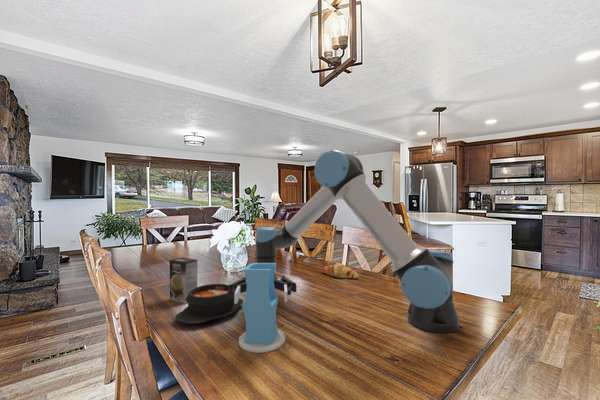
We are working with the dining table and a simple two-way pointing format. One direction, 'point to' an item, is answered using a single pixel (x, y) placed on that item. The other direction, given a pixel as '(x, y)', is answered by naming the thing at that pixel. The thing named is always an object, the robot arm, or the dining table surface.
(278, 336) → the plate
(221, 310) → the casserole
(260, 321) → the vase
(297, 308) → the dining table surface
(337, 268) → the croissant
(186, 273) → the coffee box
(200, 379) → the dining table surface
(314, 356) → the dining table surface
